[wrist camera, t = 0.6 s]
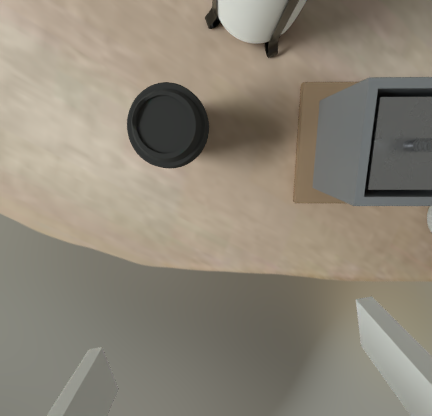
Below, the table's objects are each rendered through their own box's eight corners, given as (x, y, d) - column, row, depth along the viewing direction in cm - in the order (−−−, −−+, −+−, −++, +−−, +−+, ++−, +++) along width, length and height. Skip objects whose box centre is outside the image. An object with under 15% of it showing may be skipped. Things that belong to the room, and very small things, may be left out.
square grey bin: (300, 84, 39) (346, 49, 25) (421, 84, 39) (535, 48, 25) (292, 201, 43) (328, 227, 29) (401, 201, 43) (490, 227, 29)
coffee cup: (221, 120, 41) (223, 104, 26) (196, 171, 42) (184, 184, 28) (169, 91, 40) (140, 59, 25) (145, 146, 42) (106, 145, 27)
